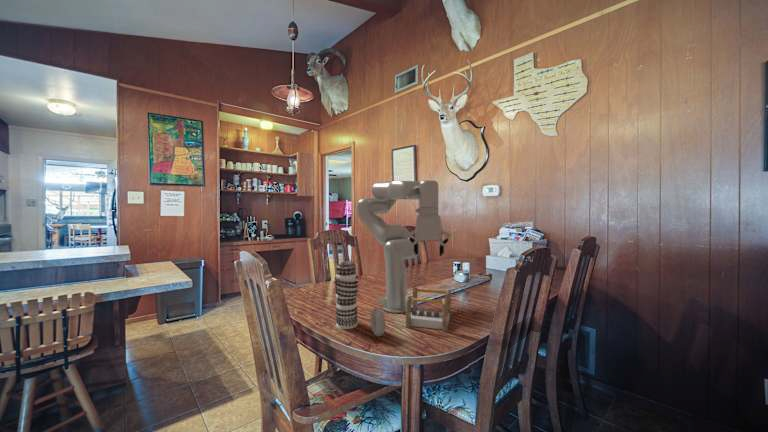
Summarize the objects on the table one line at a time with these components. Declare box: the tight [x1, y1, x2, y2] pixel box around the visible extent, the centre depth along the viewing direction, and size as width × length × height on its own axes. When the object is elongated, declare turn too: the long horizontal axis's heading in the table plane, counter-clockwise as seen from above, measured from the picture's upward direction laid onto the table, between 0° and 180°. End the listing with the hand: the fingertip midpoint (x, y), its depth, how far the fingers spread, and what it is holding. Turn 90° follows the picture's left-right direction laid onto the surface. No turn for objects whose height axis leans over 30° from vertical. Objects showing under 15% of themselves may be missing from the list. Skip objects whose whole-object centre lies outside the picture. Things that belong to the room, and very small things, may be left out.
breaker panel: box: [411, 307, 450, 330], centre depth 122 cm, size 15×10×5 cm, turn 73°
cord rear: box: [417, 288, 446, 295], centre depth 128 cm, size 13×1×1 cm, turn 73°
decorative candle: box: [334, 260, 359, 330], centre depth 121 cm, size 9×9×25 cm
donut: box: [370, 307, 386, 337], centre depth 111 cm, size 10×4×10 cm, turn 19°
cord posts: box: [405, 286, 452, 333], centre depth 122 cm, size 16×15×12 cm
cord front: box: [410, 297, 443, 304], centre depth 116 cm, size 13×1×1 cm, turn 73°
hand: (428, 254), depth 122 cm, fingers open, 9 cm apart
